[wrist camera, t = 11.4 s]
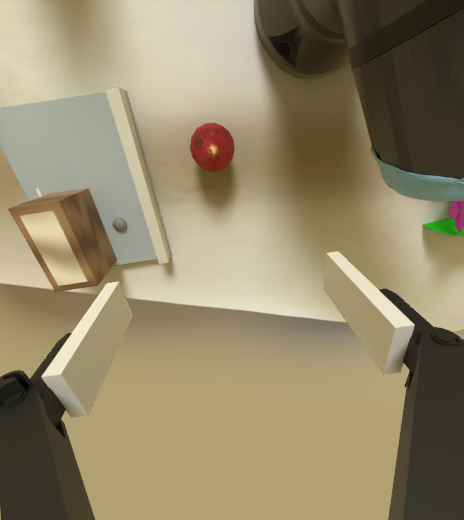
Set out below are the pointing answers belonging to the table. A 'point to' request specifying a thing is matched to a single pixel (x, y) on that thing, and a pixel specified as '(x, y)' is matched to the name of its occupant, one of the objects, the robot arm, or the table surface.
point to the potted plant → (451, 221)
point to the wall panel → (89, 165)
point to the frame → (66, 238)
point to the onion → (212, 147)
